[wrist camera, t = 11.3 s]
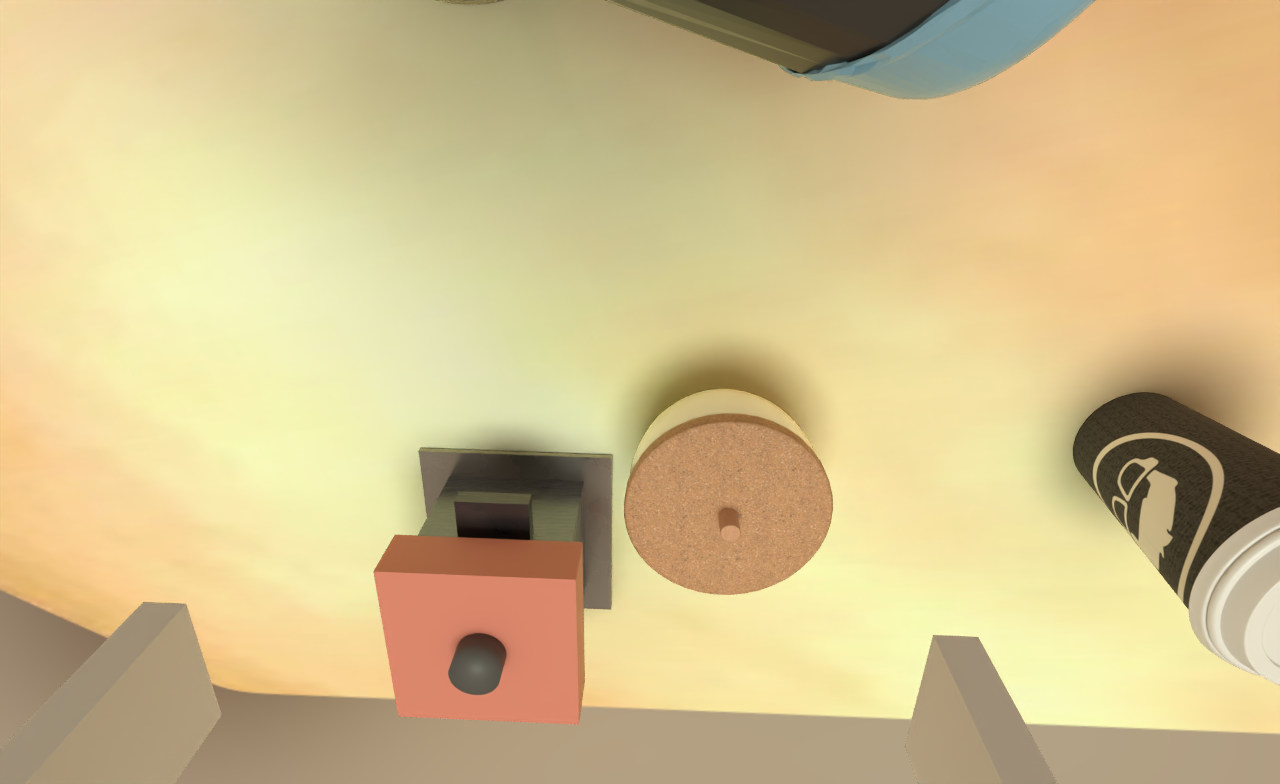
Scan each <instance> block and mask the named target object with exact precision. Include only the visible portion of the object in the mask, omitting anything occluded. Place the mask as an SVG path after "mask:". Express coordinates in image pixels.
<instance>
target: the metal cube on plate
mask: <svg viewBox="0 0 1280 784" xmlns="http://www.w3.org/2000/svg"><path fill="white" fill-rule="evenodd" d="M419 457H420V465H421V472H422V480H423V488H424V496H425V504H426V512H427V519H426V521H425V523H424V525H423V527H422V529H421V531H420V533H419V534H418V536H437V537H462V538H488V539H513V540H539V541H564V542H583V606H584V608H588V609H611V598H612V455H601V454H574V453H546V452H519V451H491V450H464V449H436V448H420V450H419Z"/></svg>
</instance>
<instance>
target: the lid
mask: <svg viewBox="0 0 1280 784" xmlns="http://www.w3.org/2000/svg"><path fill="white" fill-rule="evenodd" d="M374 577H375V583H376V589H377V594H378V600H379V606H380V612H381V618H382V624H383V629H384V635H385V641H386V647H387V653H388V658H389V664H390V670H391V676H392V682H393V688H394V693H395V699H396V705H397V711H398V716H403V717H426V718H447V719H469V720H492V721H513V722H536V723H558V724H579V719H580V712H581V705H582V697H583V690H584V683H585V670H584V606H583V542H564V541H539V540H513V539H488V538H462V537H437V536H412V535H395V536H394V537H393V539H392V541H391V542H390V544H389V546H388V548H387V549H386V551H385V553H384V554H383V556H382V558H381V560H380V561H379V563H378V565H377V567H376V568H375V570H374Z"/></svg>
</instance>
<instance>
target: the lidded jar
mask: <svg viewBox="0 0 1280 784" xmlns="http://www.w3.org/2000/svg"><path fill="white" fill-rule="evenodd" d="M832 511H833V499H832V492H831V487H830V483H829V480H828V477H827V475H826V473H825V470H824V468H823V466H822V464H821V462H820V460H819V459H818V457H817V456H816V454H815V452H814V450H813V448H812V445H811V443H810V442H809V440H808V439H807V437H806V436H805V434H804V433H803V432H802V430H801V429H800V427H799V426H798V425H797V424H796V423H795V422H794V421H793V419H792V418H791V417H790V416H789V415H788V414H786V413H785V412H784V411H783V410H782V409H780V408H779V407H778V406H776V405H775V404H774V403H772V402H770V401H768V400H766V399H764V398H762V397H760V396H757V395H754V394H751V393H748V392H745V391H739V390H733V389H714V390H706V391H702V392H698V393H695V394H692V395H690V396H687V397H685V398H683V399H681V400H679V401H678V402H676V403H674V404H673V405H671V406H670V407H668V408H667V409H666V410H665V411H663V412H662V413H661V414H660V415H659V416H658V417H657V418H656V419H655V420H654V421H653V423H652V424H651V425H650V426H649V428H648V430H647V431H646V433H645V435H644V436H643V438H642V440H641V441H640V443H639V446H638V448H637V451H636V453H635V456H634V459H633V462H632V467H631V472H630V477H629V480H628V483H627V488H626V494H625V500H624V517H625V523H626V528H627V531H628V534H629V537H630V539H631V542H632V544H633V545H634V547H635V549H636V550H637V552H638V554H639V555H640V556H641V557H642V558H643V559H644V561H645V562H646V563H647V564H648V565H649V566H650V567H651V568H653V569H654V570H655V571H656V572H657V573H658V574H660V575H662V576H663V577H665V578H666V579H668V580H670V581H671V582H673V583H676V584H678V585H680V586H683V587H685V588H688V589H691V590H695V591H698V592H703V593H710V594H722V595H732V594H742V593H748V592H753V591H758V590H761V589H764V588H767V587H770V586H772V585H775V584H777V583H779V582H781V581H783V580H785V579H787V578H788V577H790V576H791V575H793V574H794V573H795V572H797V571H798V570H800V569H801V568H802V567H803V566H804V565H805V564H806V563H807V562H808V561H809V560H810V559H811V558H812V557H813V556H814V554H815V553H816V552H817V550H818V549H819V548H820V546H821V544H822V543H823V541H824V539H825V537H826V535H827V532H828V529H829V526H830V523H831V518H832Z"/></svg>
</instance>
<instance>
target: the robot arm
mask: <svg viewBox="0 0 1280 784" xmlns="http://www.w3.org/2000/svg"><path fill="white" fill-rule="evenodd" d="M437 1H442V2H447V3H454V4H467V5H470V4H487V3H494V2H499V1H503V0H437ZM606 1H609V2H611V3H614V4H617V5H620V6H622V7H625V8H628V9H630V10H633V11H636V12H638V13H641V14H644V15H646V16H649V17H652V18H654V19H657V20H660V21H663V22H665V23H668V24H671V25H673V26H676V27H679V28H681V29H684V30H687V31H689V32H692V33H695V34H698V35H700V36H703V37H706V38H708V39H711V40H714V41H716V42H719V43H722V44H724V45H727V46H730V47H733V48H735V49H738V50H741V51H743V52H746V53H749V54H751V55H754V56H757V57H759V58H762V59H765V60H767V61H770V62H773V63H776V64H778V65H779V66H780V67H781V68H782V69H783V70H785V71H786V72H788V73H789V74H791V75H794V76H796V77H801V76H804V77H805V78H807V79H809V80H811V81H830V80H836V81H839V82H843V83H846V84H850V85H853V86H857V87H860V88H863V89H867V90H870V91H873V92H877V93H880V94H883V95H886V96H890V97H894V98H899V99H933V98H938V97H943V96H947V95H951V94H954V93H957V92H961V91H963V90H966V89H969V88H971V87H973V86H976V85H978V84H980V83H983V82H985V81H987V80H989V79H991V78H993V77H995V76H996V75H998V74H1000V73H1001V72H1003V71H1005V70H1007V69H1008V68H1010V67H1012V66H1013V65H1015V64H1016V63H1018V62H1019V61H1021V60H1023V59H1024V58H1026V57H1027V56H1028V55H1030V54H1031V53H1032V52H1034V51H1035V50H1037V49H1038V48H1039V47H1041V46H1042V45H1043V44H1045V43H1046V42H1047V41H1048V40H1050V39H1051V38H1052V37H1054V36H1055V35H1056V34H1057V33H1059V32H1060V31H1061V30H1062V29H1063V28H1065V27H1066V26H1067V25H1068V24H1069V23H1071V22H1072V21H1073V20H1074V19H1075V18H1076V17H1078V16H1079V15H1080V14H1081V13H1082V12H1083V11H1084V10H1085V9H1087V8H1088V7H1089V6H1090V5H1091V4H1092V3H1093V2H1094V1H1095V0H606ZM220 716H221V712H220V708H219V705H218V702H217V699H216V696H215V693H214V690H213V686H212V683H211V680H210V677H209V674H208V671H207V668H206V665H205V661H204V658H203V655H202V652H201V649H200V646H199V643H198V639H197V636H196V633H195V630H194V627H193V624H192V621H191V618H190V614H189V611H188V608H187V605H186V604H178V603H155V602H143V603H142V604H141V605H140V606H139V607H138V608H137V609H136V610H135V611H134V612H133V613H132V614H131V615H130V616H129V618H128V619H127V620H126V621H125V622H124V623H123V624H122V625H121V626H120V627H119V628H118V629H117V630H116V631H115V632H114V633H113V634H112V635H111V636H110V637H109V638H108V639H107V640H106V641H105V642H104V643H103V644H102V645H101V646H100V647H99V648H98V649H97V650H96V651H95V652H94V653H93V654H92V655H91V656H90V658H88V659H87V661H85V663H84V664H83V665H82V666H81V667H80V668H79V669H78V670H77V671H76V672H75V673H74V674H73V675H72V676H71V677H70V678H69V679H68V680H67V681H66V682H65V683H64V684H63V685H62V686H61V687H60V688H59V689H58V690H57V691H56V692H55V693H54V694H53V695H52V696H51V697H50V698H49V699H48V700H47V701H46V702H45V703H44V705H42V707H41V708H40V709H39V710H38V711H37V712H36V713H35V714H34V715H33V716H32V717H31V718H30V719H29V720H28V721H27V722H26V723H25V724H24V725H23V726H22V727H21V728H20V729H19V730H18V731H17V732H16V733H15V734H14V735H13V736H12V737H11V738H10V739H9V740H8V741H7V742H6V743H5V744H4V745H3V746H2V747H1V748H0V784H174V783H175V782H176V780H177V779H178V778H179V776H180V775H181V773H182V772H183V770H184V769H185V767H186V766H187V765H188V763H189V762H190V760H191V759H192V757H193V756H194V754H195V753H196V752H197V750H198V748H199V747H200V746H201V744H202V743H203V741H204V740H205V738H206V737H207V736H208V734H209V733H210V731H211V730H212V728H213V727H214V725H215V724H216V722H217V721H218V719H219V718H220ZM905 748H906V751H907V754H908V757H909V760H910V763H911V766H912V768H913V771H914V774H915V777H916V780H917V783H918V784H1058V783H1057V782H1056V779H1055V777H1054V776H1053V774H1052V772H1051V770H1050V768H1049V766H1048V765H1047V763H1046V761H1045V759H1044V757H1043V755H1042V754H1041V752H1040V750H1039V748H1038V746H1037V744H1036V743H1035V741H1034V739H1033V737H1032V735H1031V733H1030V732H1029V730H1028V728H1027V726H1026V724H1025V722H1024V721H1023V719H1022V717H1021V715H1020V713H1019V711H1018V709H1017V708H1016V706H1015V704H1014V702H1013V700H1012V698H1011V697H1010V695H1009V693H1008V691H1007V689H1006V687H1005V686H1004V684H1003V682H1002V680H1001V678H1000V676H999V675H998V673H997V671H996V669H995V667H994V665H993V664H992V662H991V660H990V658H989V656H988V654H987V653H986V651H985V649H984V647H983V645H982V643H981V641H980V640H979V638H978V637H966V636H942V635H933V638H932V642H931V646H930V650H929V654H928V658H927V662H926V665H925V669H924V673H923V677H922V681H921V685H920V689H919V693H918V696H917V700H916V704H915V708H914V712H913V716H912V720H911V724H910V728H909V731H908V736H907V739H906V743H905Z"/></svg>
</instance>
